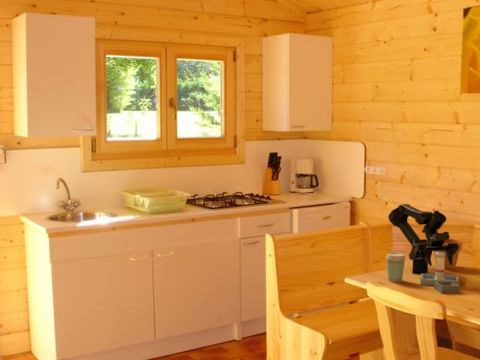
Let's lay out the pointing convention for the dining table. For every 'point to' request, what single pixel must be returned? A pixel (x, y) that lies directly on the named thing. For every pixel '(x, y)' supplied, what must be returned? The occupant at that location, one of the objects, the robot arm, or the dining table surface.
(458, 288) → the clip block
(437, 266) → the fuse
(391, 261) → the coffee cup
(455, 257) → the flower pot
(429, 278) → the tray
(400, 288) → the dining table surface
